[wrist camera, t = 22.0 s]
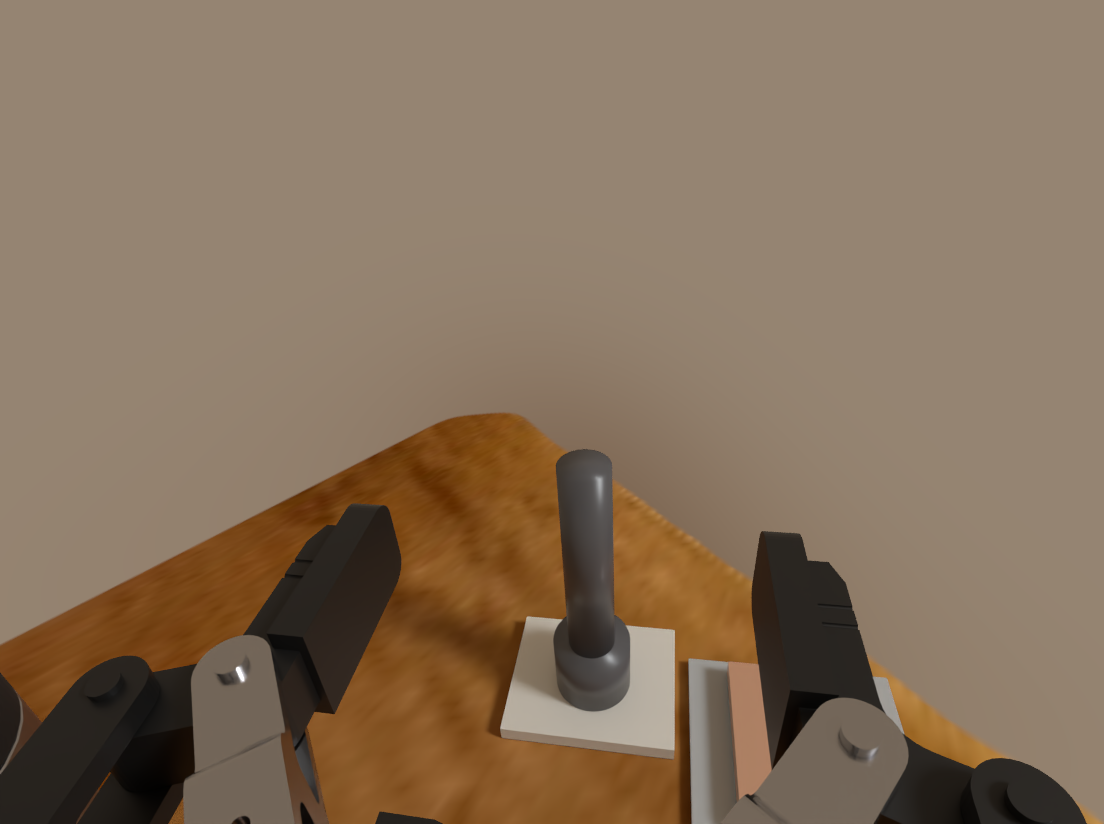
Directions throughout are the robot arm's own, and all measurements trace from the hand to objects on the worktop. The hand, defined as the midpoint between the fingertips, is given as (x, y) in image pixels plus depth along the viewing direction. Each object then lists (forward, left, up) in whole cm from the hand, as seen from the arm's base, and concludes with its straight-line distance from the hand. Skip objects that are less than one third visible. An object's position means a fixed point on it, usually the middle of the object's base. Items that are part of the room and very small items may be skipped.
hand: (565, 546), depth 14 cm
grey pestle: (-2, +17, -29) cm, 34 cm away
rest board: (-2, +17, -30) cm, 35 cm away
